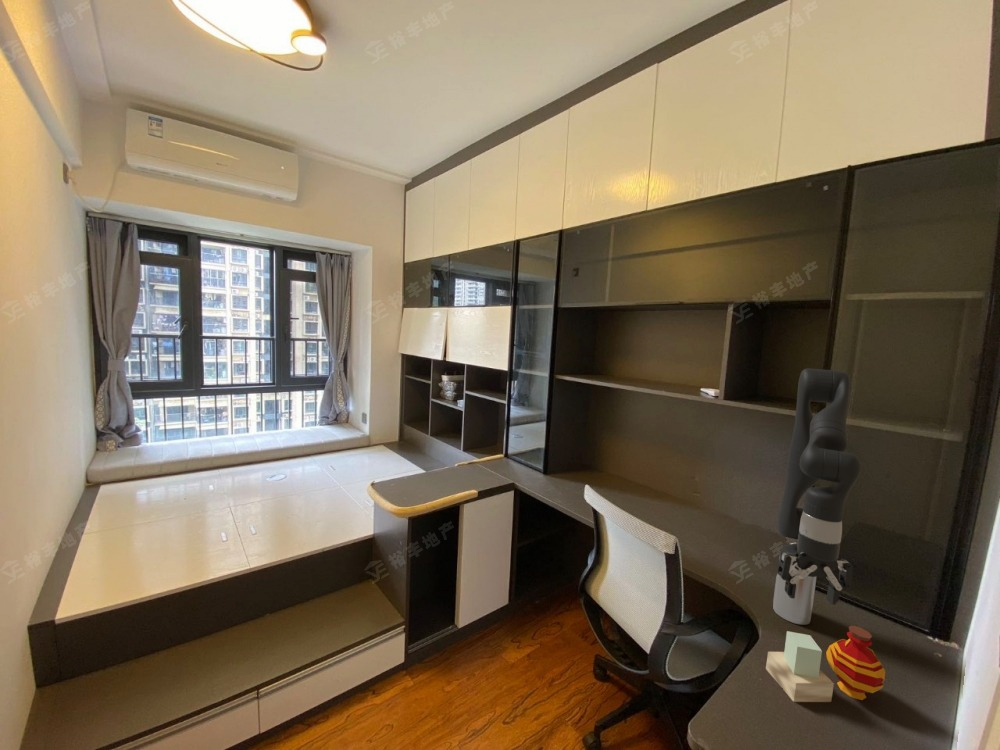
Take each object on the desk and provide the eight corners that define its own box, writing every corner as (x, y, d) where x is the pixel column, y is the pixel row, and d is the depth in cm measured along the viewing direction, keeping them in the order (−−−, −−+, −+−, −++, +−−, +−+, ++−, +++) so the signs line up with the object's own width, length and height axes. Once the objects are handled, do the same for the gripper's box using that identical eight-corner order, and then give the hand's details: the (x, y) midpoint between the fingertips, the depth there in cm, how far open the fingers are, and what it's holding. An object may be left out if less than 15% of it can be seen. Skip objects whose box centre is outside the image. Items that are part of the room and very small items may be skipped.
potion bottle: (852, 671, 100) (860, 616, 99) (893, 710, 90) (903, 649, 88) (812, 671, 100) (819, 615, 98) (849, 710, 89) (858, 648, 88)
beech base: (765, 669, 100) (768, 651, 99) (799, 670, 100) (802, 652, 100) (793, 702, 91) (796, 683, 90) (830, 703, 91) (833, 683, 91)
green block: (783, 657, 98) (787, 631, 97) (806, 661, 97) (810, 635, 96) (793, 674, 93) (797, 646, 92) (818, 679, 92) (822, 651, 91)
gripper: (843, 530, 94) (834, 594, 96) (777, 522, 96) (769, 584, 98) (866, 546, 87) (855, 615, 88) (793, 537, 89) (784, 604, 91)
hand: (810, 599), depth 93 cm, fingers open, 8 cm apart
